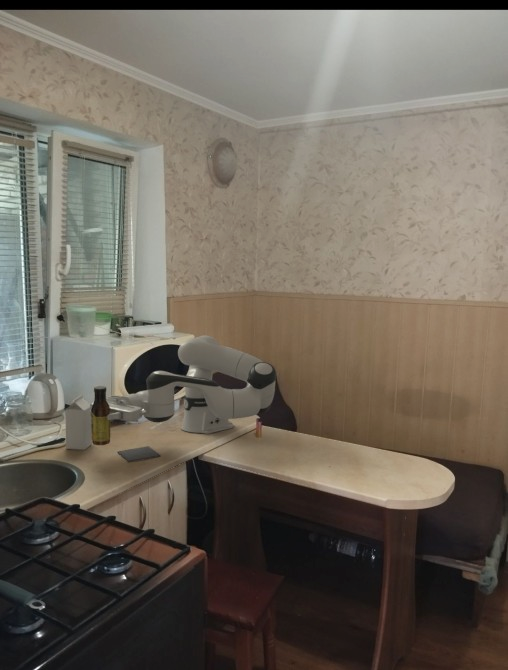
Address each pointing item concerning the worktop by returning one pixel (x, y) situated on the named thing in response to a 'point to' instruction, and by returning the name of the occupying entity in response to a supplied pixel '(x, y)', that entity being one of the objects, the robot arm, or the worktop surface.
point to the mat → (138, 454)
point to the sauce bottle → (100, 417)
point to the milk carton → (78, 424)
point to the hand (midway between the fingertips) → (98, 415)
